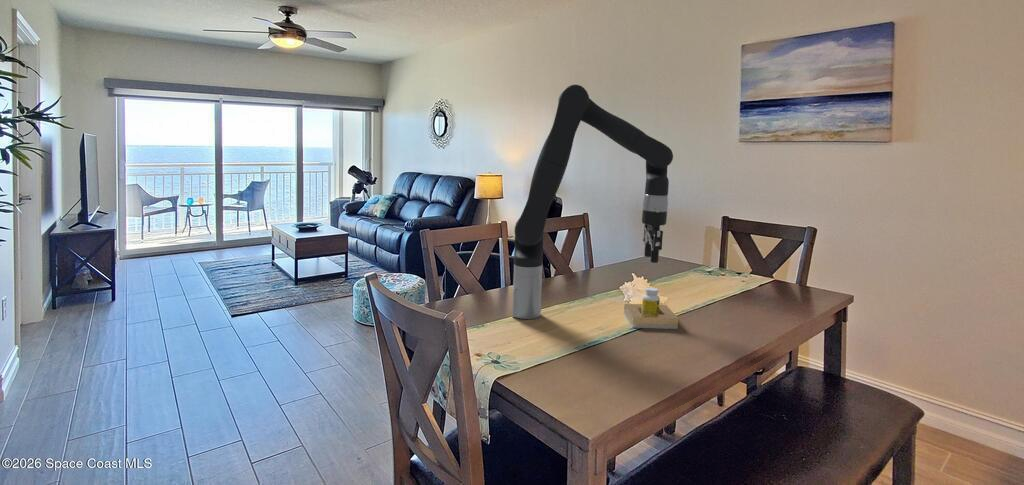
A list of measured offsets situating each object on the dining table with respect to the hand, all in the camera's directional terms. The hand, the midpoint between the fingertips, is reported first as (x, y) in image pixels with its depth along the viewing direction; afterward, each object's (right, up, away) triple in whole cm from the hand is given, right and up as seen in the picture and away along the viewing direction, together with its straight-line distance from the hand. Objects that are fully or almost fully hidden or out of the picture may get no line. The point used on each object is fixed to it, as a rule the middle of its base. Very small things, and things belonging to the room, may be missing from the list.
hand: (650, 259), depth 174 cm
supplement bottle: (0, -19, +3) cm, 20 cm away
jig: (0, -20, +3) cm, 20 cm away
